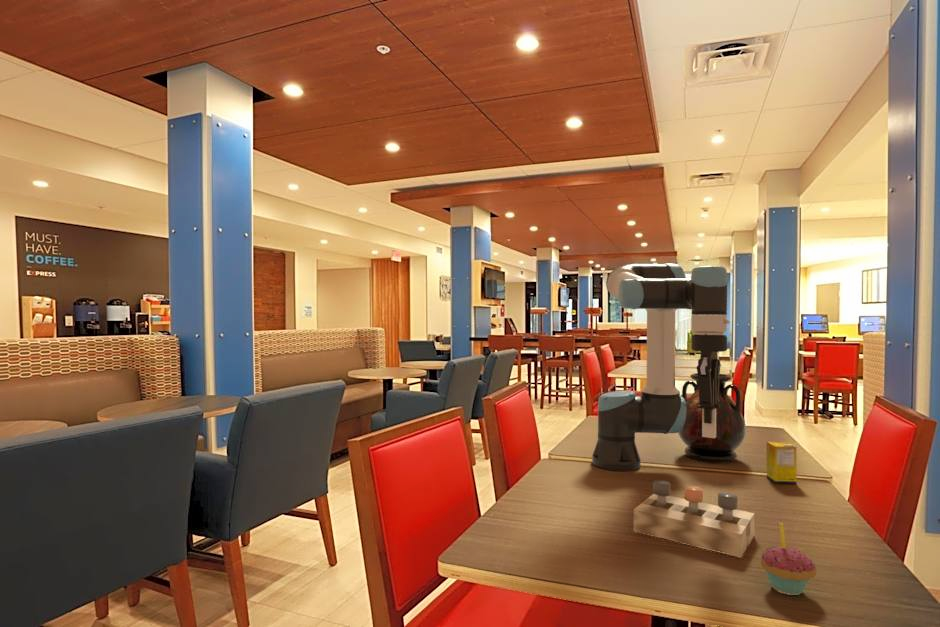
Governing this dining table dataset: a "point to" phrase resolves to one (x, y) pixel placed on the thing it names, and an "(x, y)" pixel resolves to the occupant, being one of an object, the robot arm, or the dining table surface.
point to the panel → (695, 524)
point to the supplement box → (781, 463)
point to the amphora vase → (727, 424)
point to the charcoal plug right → (728, 504)
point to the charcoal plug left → (661, 491)
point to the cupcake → (787, 567)
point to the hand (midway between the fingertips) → (709, 436)
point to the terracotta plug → (693, 497)
